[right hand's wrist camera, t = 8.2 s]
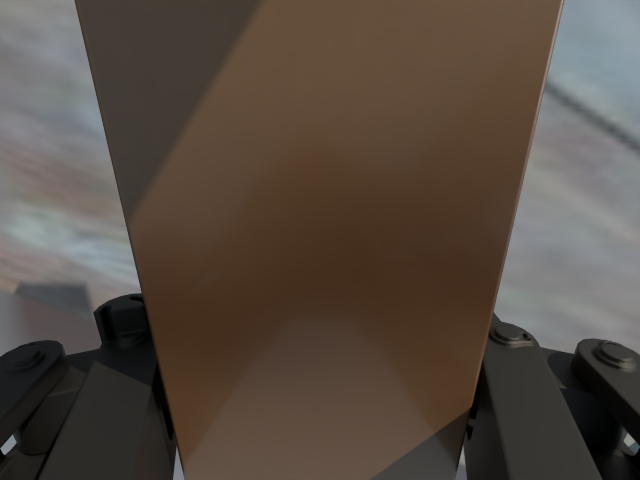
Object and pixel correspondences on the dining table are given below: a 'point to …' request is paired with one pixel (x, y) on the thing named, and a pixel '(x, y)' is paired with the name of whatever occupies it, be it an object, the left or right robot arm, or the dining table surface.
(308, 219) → the bar
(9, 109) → the dining table surface
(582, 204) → the dining table surface
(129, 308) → the right robot arm
